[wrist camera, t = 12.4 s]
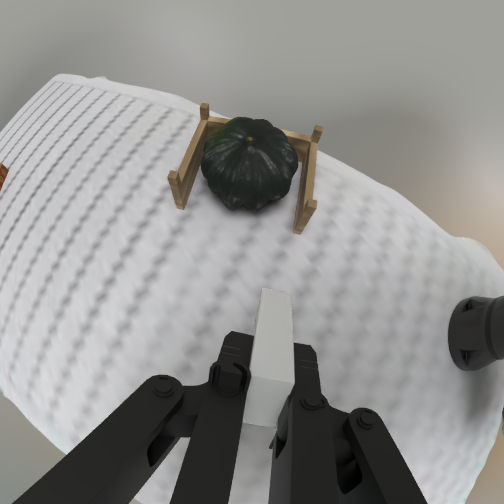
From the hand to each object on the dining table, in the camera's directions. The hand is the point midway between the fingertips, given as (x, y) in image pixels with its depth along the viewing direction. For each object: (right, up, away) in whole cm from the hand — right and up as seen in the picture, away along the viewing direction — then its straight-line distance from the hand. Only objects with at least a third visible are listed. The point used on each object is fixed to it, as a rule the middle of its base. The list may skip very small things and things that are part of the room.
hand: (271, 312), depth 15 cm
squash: (-2, +15, +33) cm, 36 cm away
